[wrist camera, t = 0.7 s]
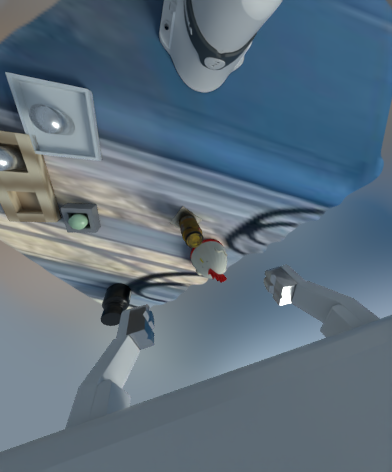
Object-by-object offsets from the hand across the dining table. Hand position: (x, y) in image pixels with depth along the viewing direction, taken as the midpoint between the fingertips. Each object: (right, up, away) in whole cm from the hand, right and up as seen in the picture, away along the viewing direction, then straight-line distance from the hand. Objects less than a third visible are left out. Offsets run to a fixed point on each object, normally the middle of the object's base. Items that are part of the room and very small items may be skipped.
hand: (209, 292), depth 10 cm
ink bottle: (-32, -18, +52) cm, 63 cm away
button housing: (-33, +10, +35) cm, 49 cm away
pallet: (-43, +18, +28) cm, 54 cm away
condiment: (-4, +9, +43) cm, 44 cm away
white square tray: (-31, +29, +25) cm, 49 cm away
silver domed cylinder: (-42, +22, +25) cm, 54 cm away
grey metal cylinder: (-31, +29, +24) cm, 48 cm away
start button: (-33, +9, +33) cm, 47 cm away
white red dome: (+4, -3, +52) cm, 52 cm away
